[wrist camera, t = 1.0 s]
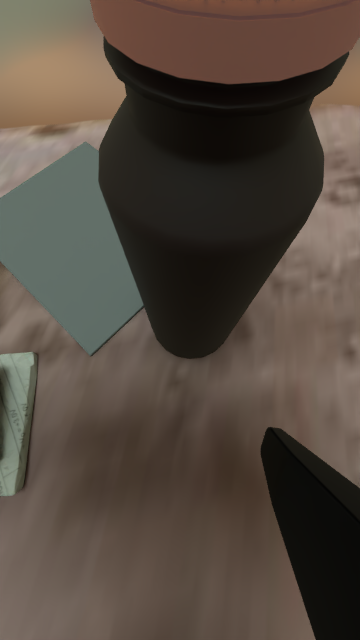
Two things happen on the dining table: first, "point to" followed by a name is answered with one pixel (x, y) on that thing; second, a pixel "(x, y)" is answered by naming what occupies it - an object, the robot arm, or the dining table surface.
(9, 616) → the dining table surface
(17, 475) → the packaged product
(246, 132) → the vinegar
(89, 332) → the mat
